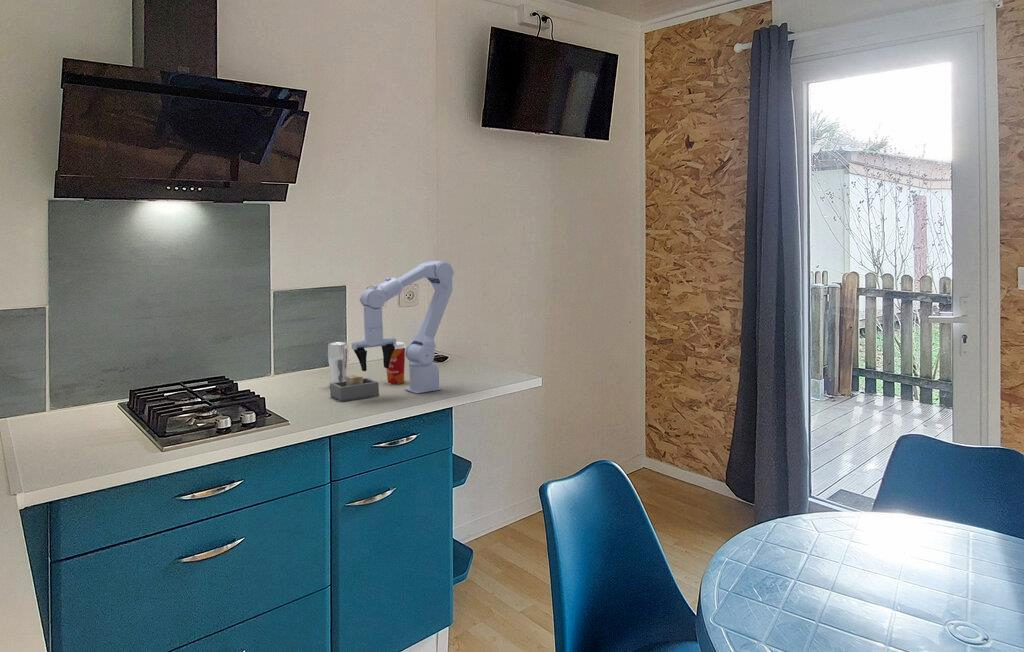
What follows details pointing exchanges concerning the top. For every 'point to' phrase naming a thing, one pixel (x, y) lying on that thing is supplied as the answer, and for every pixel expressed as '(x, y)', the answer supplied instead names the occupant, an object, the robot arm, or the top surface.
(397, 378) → the paper cup
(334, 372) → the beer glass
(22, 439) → the top surface
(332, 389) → the grey rectangular open box
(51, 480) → the top surface
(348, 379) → the birch block
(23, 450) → the top surface
